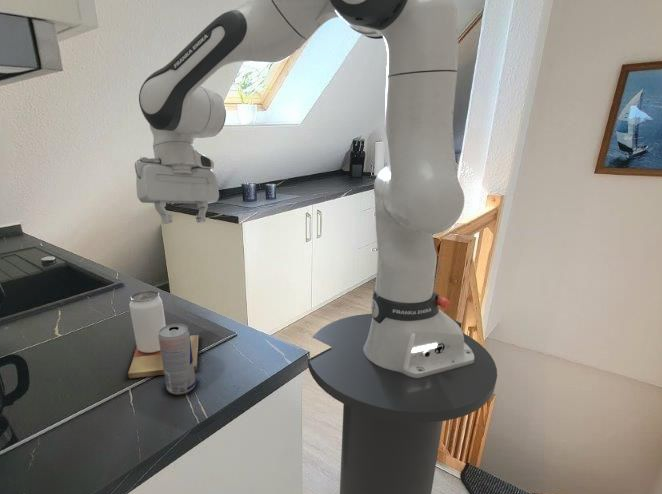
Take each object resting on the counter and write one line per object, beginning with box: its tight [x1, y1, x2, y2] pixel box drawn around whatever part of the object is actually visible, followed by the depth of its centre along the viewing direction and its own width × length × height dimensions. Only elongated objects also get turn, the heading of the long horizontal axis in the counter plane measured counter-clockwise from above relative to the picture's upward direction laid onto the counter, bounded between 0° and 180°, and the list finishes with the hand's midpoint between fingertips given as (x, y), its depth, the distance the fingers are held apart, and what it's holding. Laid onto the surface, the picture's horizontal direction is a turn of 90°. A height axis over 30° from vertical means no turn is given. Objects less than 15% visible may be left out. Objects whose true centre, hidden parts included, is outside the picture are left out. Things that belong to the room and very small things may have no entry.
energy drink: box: [158, 323, 197, 396], centre depth 74 cm, size 5×5×12 cm
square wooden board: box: [127, 334, 200, 379], centre depth 85 cm, size 13×13×1 cm
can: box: [128, 289, 167, 353], centre depth 85 cm, size 6×6×12 cm
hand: (185, 222), depth 91 cm, fingers open, 8 cm apart
